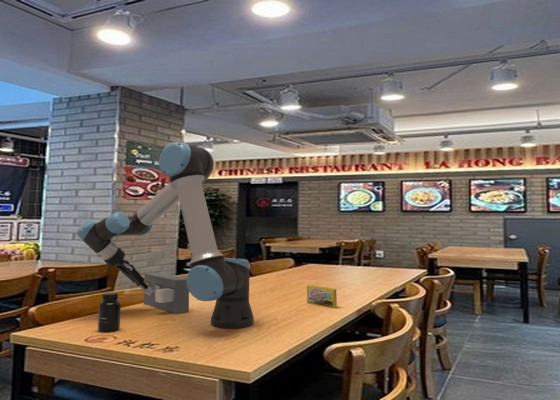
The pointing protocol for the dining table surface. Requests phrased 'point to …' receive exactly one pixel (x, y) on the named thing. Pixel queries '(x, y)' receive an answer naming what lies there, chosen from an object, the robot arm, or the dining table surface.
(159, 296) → the cream button
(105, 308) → the supplement bottle
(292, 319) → the dining table surface
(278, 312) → the dining table surface
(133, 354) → the dining table surface
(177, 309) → the console
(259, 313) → the dining table surface
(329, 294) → the candy box
